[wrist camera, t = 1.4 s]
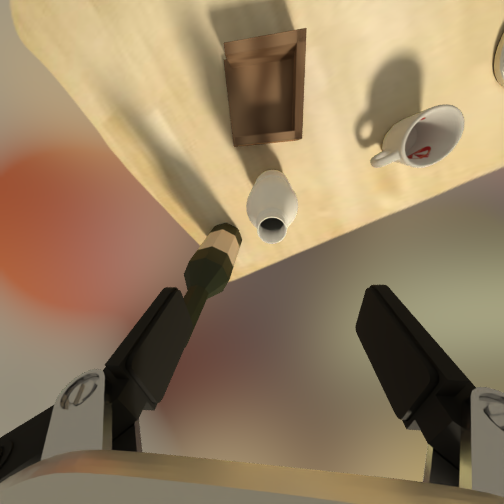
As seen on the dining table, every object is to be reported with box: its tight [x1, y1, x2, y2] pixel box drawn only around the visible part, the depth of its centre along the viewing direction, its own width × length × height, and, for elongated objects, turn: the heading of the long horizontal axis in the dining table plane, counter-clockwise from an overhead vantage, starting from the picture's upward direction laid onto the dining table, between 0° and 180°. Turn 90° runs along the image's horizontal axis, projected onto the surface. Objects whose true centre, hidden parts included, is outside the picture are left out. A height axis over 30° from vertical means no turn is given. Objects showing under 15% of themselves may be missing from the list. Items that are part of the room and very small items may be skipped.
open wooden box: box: [224, 28, 306, 147], centre depth 30 cm, size 12×12×6 cm
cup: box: [370, 105, 464, 168], centre depth 31 cm, size 11×8×8 cm
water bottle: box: [246, 170, 298, 244], centre depth 29 cm, size 7×7×25 cm
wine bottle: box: [183, 223, 242, 347], centre depth 34 cm, size 8×8×30 cm
